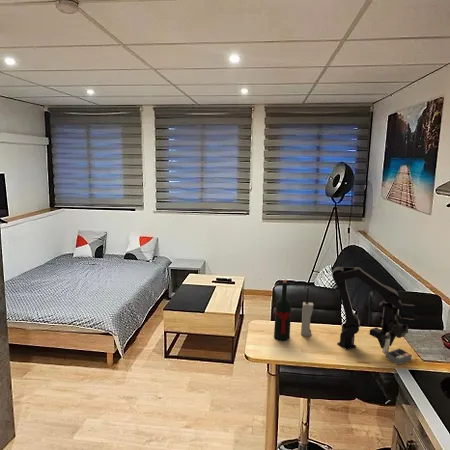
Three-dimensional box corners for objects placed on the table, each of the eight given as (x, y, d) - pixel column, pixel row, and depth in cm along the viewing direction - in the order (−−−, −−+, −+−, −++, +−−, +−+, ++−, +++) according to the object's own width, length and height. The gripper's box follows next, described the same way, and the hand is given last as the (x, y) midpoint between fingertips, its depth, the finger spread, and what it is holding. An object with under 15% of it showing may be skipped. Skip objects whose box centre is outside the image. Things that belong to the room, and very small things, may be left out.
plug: (386, 354, 180) (388, 336, 178) (380, 351, 183) (382, 333, 181) (390, 352, 182) (392, 335, 180) (384, 349, 184) (386, 332, 182)
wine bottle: (274, 342, 188) (277, 284, 183) (273, 333, 198) (276, 277, 193) (290, 343, 188) (294, 285, 182) (288, 334, 198) (292, 278, 192)
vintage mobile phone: (311, 336, 196) (314, 289, 191) (301, 335, 197) (304, 289, 192) (310, 333, 199) (314, 287, 195) (301, 332, 200) (304, 286, 196)
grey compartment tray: (397, 364, 171) (398, 359, 171) (385, 357, 177) (386, 352, 176) (411, 359, 176) (412, 354, 175) (398, 353, 181) (399, 347, 181)
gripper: (391, 326, 167) (387, 359, 170) (417, 318, 176) (413, 350, 179) (370, 317, 177) (367, 348, 180) (396, 310, 186) (393, 340, 189)
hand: (385, 347), depth 182 cm, fingers open, 5 cm apart
